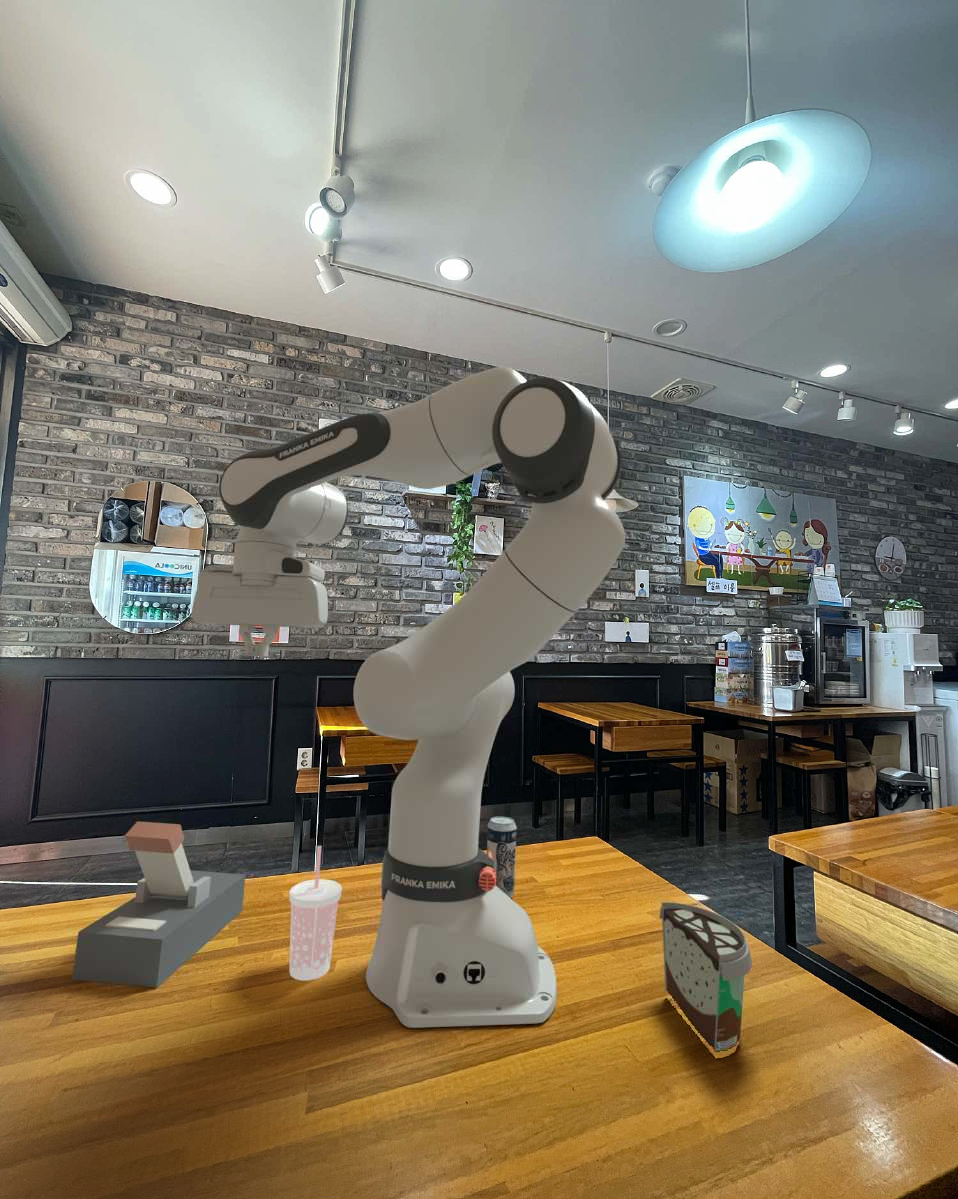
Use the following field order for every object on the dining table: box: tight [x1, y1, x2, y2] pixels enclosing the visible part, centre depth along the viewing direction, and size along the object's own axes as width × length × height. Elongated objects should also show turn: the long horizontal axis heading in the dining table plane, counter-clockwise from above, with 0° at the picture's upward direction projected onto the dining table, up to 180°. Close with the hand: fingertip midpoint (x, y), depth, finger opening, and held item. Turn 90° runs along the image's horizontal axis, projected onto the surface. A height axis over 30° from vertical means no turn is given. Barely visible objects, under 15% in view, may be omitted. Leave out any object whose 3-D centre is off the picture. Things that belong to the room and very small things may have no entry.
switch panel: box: [71, 869, 246, 989], centre depth 67 cm, size 10×18×8 cm, turn 176°
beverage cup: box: [288, 845, 343, 981], centre depth 63 cm, size 6×6×14 cm
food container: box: [658, 901, 753, 1052], centre depth 56 cm, size 12×6×10 cm, turn 9°
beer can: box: [486, 816, 517, 898], centre depth 84 cm, size 5×5×12 cm
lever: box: [124, 821, 194, 899], centre depth 65 cm, size 6×2×12 cm, turn 86°
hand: (256, 655), depth 79 cm, fingers closed
